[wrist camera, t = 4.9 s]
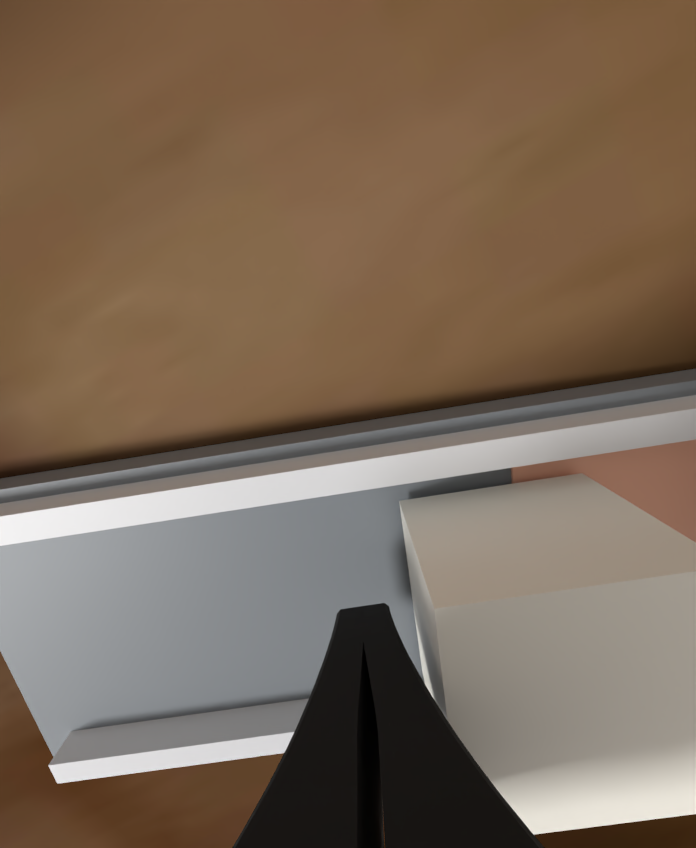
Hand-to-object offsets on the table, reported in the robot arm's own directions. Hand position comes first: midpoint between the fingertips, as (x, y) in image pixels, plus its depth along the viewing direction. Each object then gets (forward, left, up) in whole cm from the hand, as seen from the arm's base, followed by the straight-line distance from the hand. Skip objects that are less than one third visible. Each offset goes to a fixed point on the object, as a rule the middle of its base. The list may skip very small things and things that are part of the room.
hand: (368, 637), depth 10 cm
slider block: (0, -4, -1) cm, 4 cm away
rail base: (0, 0, -3) cm, 3 cm away
